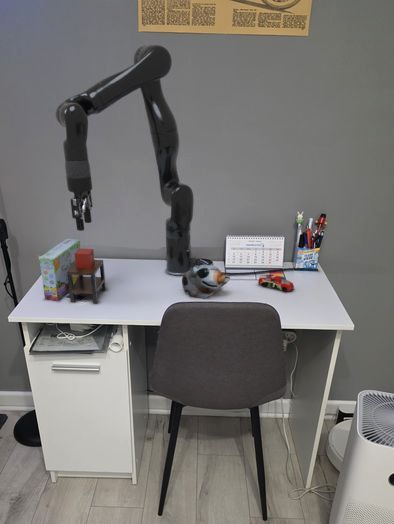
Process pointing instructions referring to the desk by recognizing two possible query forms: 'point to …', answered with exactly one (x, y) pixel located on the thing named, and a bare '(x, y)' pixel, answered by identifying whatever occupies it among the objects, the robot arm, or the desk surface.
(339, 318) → the desk surface
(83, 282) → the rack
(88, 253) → the block
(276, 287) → the race car
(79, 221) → the robot arm
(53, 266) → the snack box
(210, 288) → the spotted animal figurine
